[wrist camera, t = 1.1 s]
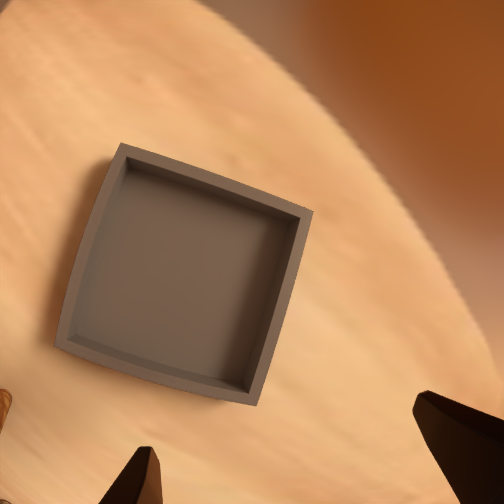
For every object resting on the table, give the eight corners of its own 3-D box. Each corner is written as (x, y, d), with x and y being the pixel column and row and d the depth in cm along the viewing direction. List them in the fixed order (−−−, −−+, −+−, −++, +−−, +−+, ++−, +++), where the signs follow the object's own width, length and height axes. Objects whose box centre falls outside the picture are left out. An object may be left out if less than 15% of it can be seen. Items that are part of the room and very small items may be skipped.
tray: (247, 393, 22) (256, 406, 19) (65, 339, 19) (53, 346, 16) (299, 217, 24) (313, 211, 21) (125, 156, 21) (120, 142, 18)
